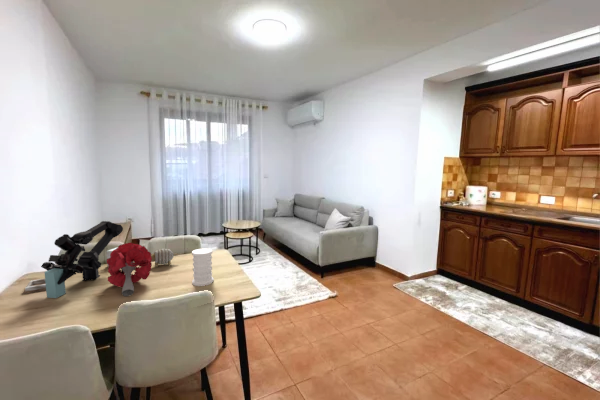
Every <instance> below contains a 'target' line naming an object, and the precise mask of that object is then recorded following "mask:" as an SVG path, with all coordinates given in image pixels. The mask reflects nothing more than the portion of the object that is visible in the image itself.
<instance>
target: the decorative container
mask: <svg viewBox="0 0 600 400" xmlns="http://www.w3.org/2000/svg"><path fill="white" fill-rule="evenodd" d="M212 254H213V249H212V248H205V247H204V248H202V247H201V248H198V249H197V248H196V249H194V250H192V251H191V255H192V256H193V257H192V266H193V267H192V268H193V269H192V271H193V274H192V275H193V279H191V280H192V281H191V283H192V285H193V286H195V287H204V286H205V285H206V286H209V285H211V284H213V283H214V281H215V280H214V277H213V272H212V270H213V267H212V264H213V262H212V259H213V257H212ZM212 282H213V283H212ZM210 283H211V284H210ZM206 286H205V287H206Z"/></svg>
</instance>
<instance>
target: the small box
mask: <svg viewBox="0 0 600 400" xmlns="http://www.w3.org/2000/svg"><path fill="white" fill-rule="evenodd" d="M116 248H118V246H117V247H116V246H115V247H114V248H111V249H108V250H106V260H107V259H108V258H110V254H111V252H112V251H113V250H115V249H116ZM106 264H107V263H106ZM106 266H107V267H109V266H108V264H107V265H106Z"/></svg>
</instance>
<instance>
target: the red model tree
mask: <svg viewBox="0 0 600 400" xmlns="http://www.w3.org/2000/svg"><path fill="white" fill-rule="evenodd" d="M117 247H118V248H116V247H115V248H116V249H115V250H113V251H112V252H111V254H110V258H108V259H107V258H106V264H108V266H107V267H108V268H107V271H108V273H109V276H108V277H107V281H108V283H110V285H112V286H115V287H118V288H122V289H121V295H122V296H124V297H129V296H132V295H133V294H134V293H135V287H134V283H139V281H141V280H147V279H148V277H149V276H150V274H151V271H152V264H153V262H151V261H152V257H151V254H152V252H150V251H149V250H148V249H147V248H146V246H144V245H141V244H138V243H133V242H127V243H126V242H125V243H123V244H119V246H117ZM133 271H135V272H133Z"/></svg>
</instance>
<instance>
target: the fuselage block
mask: <svg viewBox="0 0 600 400" xmlns="http://www.w3.org/2000/svg"><path fill="white" fill-rule="evenodd" d="M62 274H63V269H58V268H54V269H51V270H49V271H47V270H46V271H44V279H45V283H46V290H45V292H46V298H50V299H51V298H52V299H57V298H59V297H60V298H61V297H62V296H63V295H65V294H66V282H65V281H66V280H65V281H64V282H62V283H61V284H60V285H58V284H57V283H58V281H59V279H60V278H61V276H62Z"/></svg>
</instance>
